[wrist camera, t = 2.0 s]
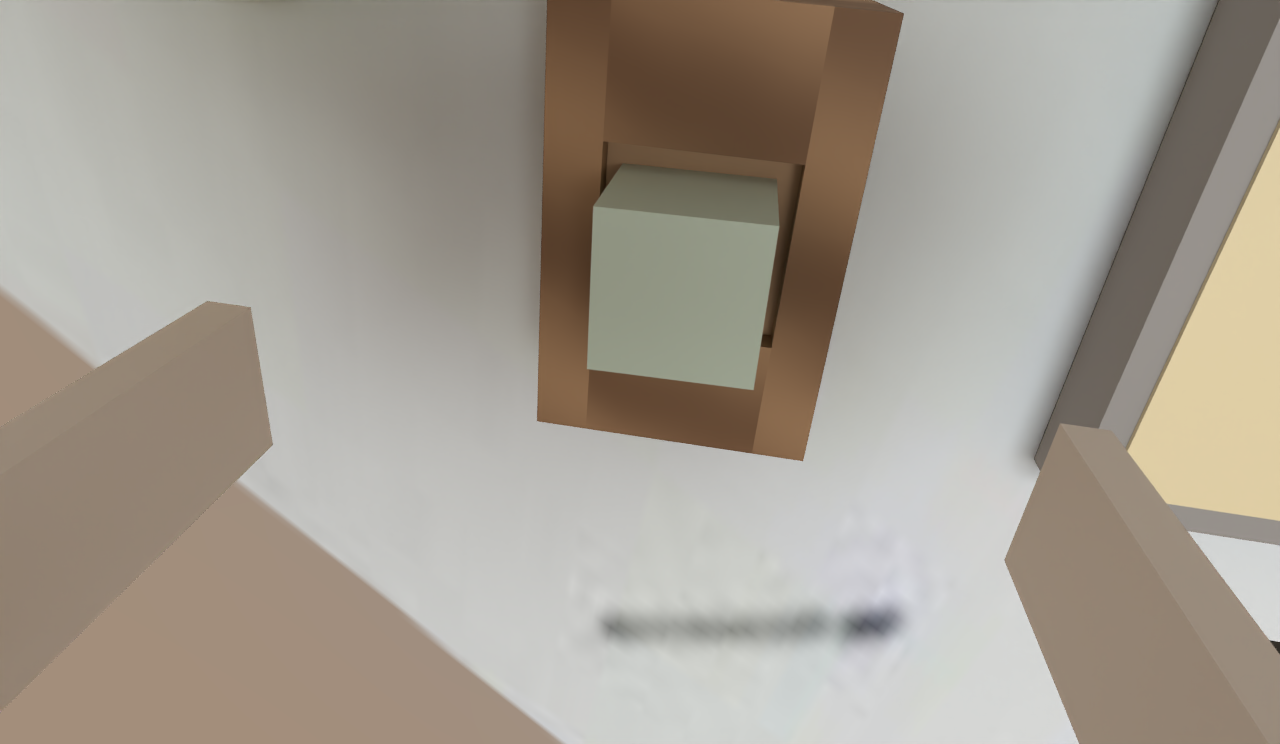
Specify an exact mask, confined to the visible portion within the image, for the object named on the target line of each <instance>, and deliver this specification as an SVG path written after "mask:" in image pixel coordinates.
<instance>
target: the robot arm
mask: <svg viewBox="0 0 1280 744" xmlns="http://www.w3.org/2000/svg"><path fill="white" fill-rule="evenodd" d="M272 445H273V443H272V437H271V431H270V424H269V418H268V412H267V406H266V400H265V394H264V387H263V381H262V375H261V369H260V363H259V357H258V350H257V344H256V338H255V332H254V326H253V320H252V313H251V307H245V306H238V305H231V304H224V303H217V302H210V301H207V302H205V303H203V304H202V305H200V306H198V307H197V308H195V309H194V310H192V311H190V312H189V313H187V314H185V315H184V316H182V317H180V318H179V319H177V320H175V321H174V322H172V323H170V324H169V325H167V326H166V327H164V328H162V329H161V330H159V331H157V332H156V333H154V334H152V335H151V336H149V337H147V338H146V339H144V340H142V341H141V342H139V343H138V344H136V345H134V346H133V347H131V348H129V349H128V350H126V351H124V352H123V353H121V354H119V355H118V356H116V357H114V358H113V359H111V360H110V361H108V362H106V363H105V364H103V365H101V366H100V367H98V368H96V369H95V370H93V371H91V372H90V373H88V374H87V375H85V376H83V377H82V378H80V379H78V380H77V381H75V382H73V383H72V384H70V385H68V386H67V387H65V388H64V389H62V390H60V391H58V392H57V393H55V394H54V395H52V396H50V397H49V398H47V399H45V400H44V401H42V402H40V403H39V404H37V405H35V406H34V407H32V408H30V409H29V410H27V411H26V412H24V413H22V414H21V415H19V416H18V417H16V418H14V419H13V420H11V421H9V422H7V423H6V424H4V425H3V426H1V427H0V712H1V711H2V710H3V709H4V708H5V707H6V706H8V704H9V703H11V702H12V700H14V699H15V698H16V697H17V696H18V695H19V694H20V693H21V692H22V691H23V690H24V689H25V688H26V687H27V686H28V685H29V684H30V683H31V682H32V681H33V680H34V679H35V678H36V677H37V676H38V675H39V674H40V673H41V672H42V671H43V670H44V669H45V668H46V667H47V666H48V665H49V664H50V663H51V662H52V661H53V660H54V659H55V658H56V657H57V656H58V655H59V654H60V653H61V652H62V651H63V650H64V649H66V647H68V646H69V645H70V643H72V642H73V641H74V640H75V639H76V638H77V637H78V636H79V635H80V634H81V633H82V632H83V631H84V630H85V629H86V628H87V627H88V626H89V625H90V624H91V623H92V622H93V621H94V620H95V619H96V618H97V617H98V616H99V615H100V614H101V613H102V612H103V611H104V610H105V609H106V608H107V607H108V606H109V605H110V604H111V603H112V602H113V601H114V600H115V599H116V598H117V597H118V596H119V595H120V594H121V593H123V592H124V590H126V589H127V587H129V586H130V585H131V584H132V583H133V581H135V580H136V578H138V577H139V576H140V575H141V574H142V573H143V572H144V571H145V570H146V569H147V568H148V567H149V566H150V565H151V564H152V563H153V562H154V561H155V560H156V559H157V558H158V557H159V556H160V555H161V554H162V553H163V552H164V551H165V550H166V549H167V548H168V547H169V546H170V545H171V544H172V543H173V542H174V541H175V540H176V539H177V538H178V537H179V536H181V535H182V534H183V533H184V532H185V530H187V529H188V528H189V527H190V526H191V525H192V524H193V523H194V522H195V520H197V519H198V518H199V517H200V516H201V515H202V514H203V513H204V512H205V511H206V510H207V509H208V508H209V507H210V506H211V505H212V504H213V503H214V502H215V501H216V500H217V499H218V498H219V497H220V496H221V495H222V494H223V493H224V492H225V491H226V490H227V489H228V488H229V487H230V486H231V485H232V484H233V483H234V482H235V481H236V480H238V479H239V478H240V477H241V476H242V475H243V474H244V473H245V472H246V471H247V470H248V469H249V468H250V467H251V466H252V465H253V464H254V463H255V462H256V461H257V460H258V459H259V458H260V457H261V456H262V455H263V454H264V453H265V452H266V451H267V450H268V449H269V448H270V447H271V446H272ZM1005 563H1006V565H1007V568H1008V570H1009V573H1010V575H1011V577H1012V580H1013V582H1014V585H1015V587H1016V590H1017V592H1018V595H1019V597H1020V600H1021V602H1022V604H1023V607H1024V609H1025V612H1026V614H1027V617H1028V619H1029V622H1030V624H1031V627H1032V629H1033V631H1034V634H1035V636H1036V639H1037V641H1038V644H1039V646H1040V649H1041V651H1042V653H1043V656H1044V658H1045V661H1046V663H1047V666H1048V668H1049V671H1050V673H1051V676H1052V678H1053V680H1054V683H1055V685H1056V688H1057V690H1058V693H1059V695H1060V698H1061V700H1062V703H1063V705H1064V707H1065V710H1066V712H1067V715H1068V717H1069V720H1070V722H1071V725H1072V727H1073V730H1074V732H1075V734H1076V737H1077V739H1078V742H1079V744H1280V642H1276V641H1270V640H1269V639H1268V638H1267V637H1266V635H1265V634H1264V633H1263V631H1262V630H1261V629H1260V627H1259V626H1258V625H1257V623H1256V622H1255V621H1254V619H1253V618H1252V617H1251V615H1250V614H1249V613H1248V611H1247V610H1246V609H1245V607H1244V606H1243V605H1242V603H1241V602H1240V601H1239V599H1238V598H1237V597H1236V595H1235V594H1234V593H1233V591H1232V590H1231V589H1230V587H1229V586H1228V585H1227V583H1226V582H1225V581H1224V579H1223V578H1222V577H1221V575H1220V574H1219V573H1218V571H1217V570H1216V569H1215V567H1214V566H1213V565H1212V563H1211V562H1210V561H1209V560H1208V558H1207V557H1206V556H1205V554H1204V553H1203V552H1202V550H1201V549H1200V548H1199V546H1198V545H1197V544H1196V542H1195V541H1194V540H1193V538H1192V537H1191V536H1190V534H1189V533H1188V532H1187V530H1186V529H1185V528H1184V526H1183V525H1182V524H1181V522H1180V521H1179V520H1178V518H1177V517H1176V516H1175V514H1174V513H1173V512H1172V510H1171V509H1170V508H1169V506H1168V505H1167V504H1166V502H1165V501H1164V500H1163V498H1162V497H1161V496H1160V494H1159V493H1158V492H1157V490H1156V489H1155V488H1154V486H1153V485H1152V484H1151V482H1150V481H1149V480H1148V478H1147V477H1146V476H1145V474H1144V473H1143V472H1142V470H1141V469H1140V468H1139V466H1138V465H1137V464H1136V462H1135V461H1134V460H1133V458H1132V457H1131V456H1130V454H1129V453H1128V452H1127V450H1126V449H1125V448H1124V446H1123V445H1122V444H1121V442H1120V441H1119V440H1118V438H1117V437H1116V436H1115V434H1114V433H1113V432H1112V431H1111V430H1104V429H1097V428H1090V427H1083V426H1076V425H1069V424H1062V423H1060V425H1059V427H1058V430H1057V432H1056V434H1055V437H1054V439H1053V442H1052V444H1051V447H1050V449H1049V452H1048V454H1047V457H1046V459H1045V462H1044V464H1043V466H1042V469H1041V471H1040V474H1039V476H1038V479H1037V481H1036V484H1035V486H1034V489H1033V491H1032V494H1031V496H1030V498H1029V501H1028V503H1027V506H1026V508H1025V511H1024V513H1023V516H1022V518H1021V521H1020V523H1019V526H1018V528H1017V531H1016V533H1015V535H1014V538H1013V540H1012V543H1011V545H1010V548H1009V550H1008V553H1007V555H1006V558H1005Z"/></svg>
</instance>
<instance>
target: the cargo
mask: <svg viewBox="0 0 1280 744" xmlns="http://www.w3.org/2000/svg"><path fill="white" fill-rule="evenodd" d="M778 232H779V210H778V190H777V179H772V178H762V177H752V176H743V175H733V174H723V173H713V172H704V171H694V170H684V169H674V168H664V167H655V166H645V165H635V164H625V163H623V164H622V165H621V167H620V168H619V170H618V171H617V172H616V174H615V175H614V177H613V178H612V180H611V181H610V183H609V184H608V186H607V187H606V188H605V190H604V191H603V193H602V194H601V196H600V197H599V199H598V200H597V202H596V203H595V204H594V206H593V225H592V251H591V276H590V302H589V328H588V354H587V369H591V370H599V371H607V372H615V373H623V374H631V375H638V376H646V377H654V378H662V379H670V380H678V381H686V382H693V383H701V384H709V385H717V386H725V387H733V388H740V389H748V390H754V384H755V378H756V371H757V365H758V359H759V352H760V346H761V340H762V333H763V327H764V321H765V314H766V308H767V302H768V295H769V289H770V283H771V276H772V270H773V264H774V257H775V251H776V245H777V238H778Z"/></svg>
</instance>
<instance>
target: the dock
mask: <svg viewBox="0 0 1280 744" xmlns="http://www.w3.org/2000/svg"><path fill="white" fill-rule="evenodd" d="M1060 423H1062V424H1069V425H1076V426H1083V427H1090V428H1097V429H1104V430H1111V431H1112V432H1113V433H1114V434H1115V436H1116V437H1117V438H1118V440H1119V441H1120V442H1121V444H1122V445H1123V446H1124V448H1125V449H1126V450H1127V452H1128V453H1129V454H1130V456H1131V457H1132V458H1133V460H1134V461H1135V462H1136V464H1137V465H1138V466H1139V468H1140V469H1141V470H1142V472H1143V473H1144V474H1145V476H1146V477H1147V478H1148V480H1149V481H1150V482H1151V484H1152V485H1153V486H1154V488H1155V489H1156V490H1157V492H1158V493H1159V494H1160V496H1161V497H1162V498H1163V500H1164V501H1165V502H1166V504H1167V505H1168V506H1169V508H1170V509H1171V510H1172V512H1173V513H1174V514H1175V516H1176V517H1177V518H1178V520H1179V521H1180V522H1181V524H1182V525H1183V526H1184V528H1185V529H1186V530H1187V531H1191V532H1198V533H1204V534H1210V535H1217V536H1223V537H1230V538H1236V539H1243V540H1249V541H1256V542H1262V543H1269V544H1275V545H1280V0H1219V2H1218V5H1217V7H1216V10H1215V12H1214V15H1213V17H1212V20H1211V22H1210V25H1209V27H1208V30H1207V32H1206V35H1205V37H1204V39H1203V42H1202V44H1201V47H1200V49H1199V52H1198V54H1197V57H1196V59H1195V62H1194V64H1193V67H1192V69H1191V72H1190V74H1189V77H1188V79H1187V82H1186V84H1185V87H1184V89H1183V92H1182V94H1181V96H1180V99H1179V101H1178V104H1177V106H1176V109H1175V111H1174V114H1173V116H1172V119H1171V121H1170V124H1169V126H1168V129H1167V131H1166V134H1165V136H1164V139H1163V141H1162V144H1161V146H1160V149H1159V151H1158V153H1157V156H1156V158H1155V161H1154V163H1153V166H1152V168H1151V171H1150V173H1149V176H1148V178H1147V181H1146V183H1145V186H1144V188H1143V191H1142V193H1141V196H1140V198H1139V201H1138V203H1137V206H1136V208H1135V210H1134V213H1133V215H1132V218H1131V220H1130V223H1129V225H1128V228H1127V230H1126V233H1125V235H1124V238H1123V240H1122V243H1121V245H1120V248H1119V250H1118V253H1117V255H1116V258H1115V260H1114V263H1113V265H1112V267H1111V270H1110V272H1109V275H1108V277H1107V280H1106V282H1105V285H1104V287H1103V290H1102V292H1101V295H1100V297H1099V300H1098V302H1097V305H1096V307H1095V310H1094V312H1093V315H1092V317H1091V320H1090V322H1089V324H1088V327H1087V329H1086V332H1085V334H1084V337H1083V339H1082V342H1081V344H1080V347H1079V349H1078V352H1077V354H1076V357H1075V359H1074V362H1073V364H1072V367H1071V369H1070V372H1069V374H1068V377H1067V379H1066V381H1065V384H1064V386H1063V389H1062V391H1061V394H1060V396H1059V399H1058V401H1057V404H1056V406H1055V409H1054V411H1053V414H1052V416H1051V419H1050V421H1049V424H1048V426H1047V429H1046V431H1045V434H1044V436H1043V438H1042V441H1041V443H1040V446H1039V448H1038V451H1037V453H1036V456H1035V458H1034V460H1035V462H1036V464H1037V466H1038V468H1039V470H1040V471H1041V469H1042V466H1043V464H1044V462H1045V459H1046V457H1047V454H1048V452H1049V449H1050V447H1051V444H1052V442H1053V439H1054V437H1055V434H1056V432H1057V430H1058V427H1059V425H1060Z"/></svg>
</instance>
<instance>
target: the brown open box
mask: <svg viewBox="0 0 1280 744" xmlns="http://www.w3.org/2000/svg"><path fill="white" fill-rule="evenodd" d="M903 15H904V13H901V12H899V11H897V10H894V9H892V8H889V7H887V6H885V5H882V4H880V3H878V2H875V1H872V0H547V28H546V70H545V112H544V154H543V196H542V238H541V280H540V322H539V364H538V406H537V421H540V422H547V423H553V424H560V425H567V426H573V427H580V428H587V429H593V430H600V431H607V432H613V433H620V434H626V435H633V436H640V437H646V438H653V439H660V440H666V441H673V442H680V443H686V444H693V445H700V446H706V447H713V448H720V449H726V450H733V451H740V452H746V453H753V454H760V455H766V456H773V457H780V458H786V459H793V460H800V461H803V459H804V454H805V450H806V445H807V441H808V436H809V432H810V428H811V423H812V419H813V414H814V410H815V405H816V401H817V397H818V392H819V388H820V383H821V379H822V374H823V370H824V366H825V361H826V357H827V352H828V348H829V343H830V339H831V334H832V330H833V326H834V321H835V317H836V312H837V308H838V303H839V299H840V295H841V290H842V286H843V281H844V277H845V272H846V268H847V264H848V259H849V255H850V250H851V246H852V241H853V237H854V233H855V228H856V224H857V219H858V215H859V210H860V206H861V202H862V197H863V193H864V188H865V184H866V179H867V175H868V170H869V166H870V162H871V157H872V153H873V148H874V144H875V139H876V135H877V131H878V126H879V122H880V117H881V113H882V108H883V104H884V100H885V95H886V91H887V86H888V82H889V77H890V73H891V69H892V64H893V60H894V55H895V51H896V46H897V42H898V37H899V33H900V29H901V24H902V20H903ZM623 163H625V164H635V165H645V166H655V167H664V168H674V169H684V170H694V171H704V172H713V173H723V174H733V175H743V176H752V177H762V178H772V179H777V190H778V210H779V232H778V238H777V245H776V251H775V257H774V264H773V270H772V276H771V283H770V289H769V295H768V302H767V308H766V314H765V321H764V327H763V333H762V340H761V346H760V352H759V359H758V365H757V371H756V378H755V384H754V390H748V389H740V388H733V387H725V386H717V385H709V384H701V383H693V382H686V381H678V380H670V379H662V378H654V377H646V376H638V375H631V374H623V373H615V372H607V371H599V370H591V369H587V354H588V328H589V302H590V276H591V251H592V225H593V206H594V204H595V203H596V202H597V200H598V199H599V197H600V196H601V194H602V193H603V191H604V190H605V188H606V187H607V186H608V184H609V183H610V181H611V180H612V178H613V177H614V175H615V174H616V172H617V171H618V170H619V168H620V167H621V165H622V164H623Z"/></svg>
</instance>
